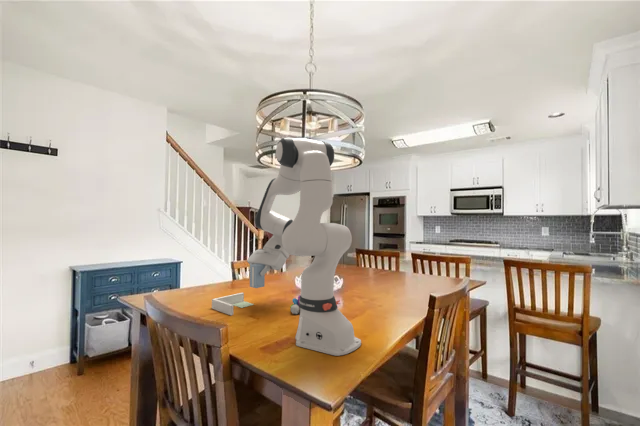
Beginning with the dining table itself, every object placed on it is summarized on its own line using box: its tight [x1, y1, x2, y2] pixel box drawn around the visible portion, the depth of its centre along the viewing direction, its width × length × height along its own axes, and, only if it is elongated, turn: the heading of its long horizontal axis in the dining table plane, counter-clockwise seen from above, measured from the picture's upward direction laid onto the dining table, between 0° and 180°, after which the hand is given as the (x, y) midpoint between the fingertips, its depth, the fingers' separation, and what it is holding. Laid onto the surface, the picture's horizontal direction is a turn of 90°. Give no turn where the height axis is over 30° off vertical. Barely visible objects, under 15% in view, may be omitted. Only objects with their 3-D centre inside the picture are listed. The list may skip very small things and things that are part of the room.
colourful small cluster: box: [289, 294, 301, 315], centre depth 136 cm, size 8×10×7 cm
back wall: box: [211, 292, 245, 310], centre depth 145 cm, size 1×16×4 cm, turn 140°
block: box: [249, 264, 266, 289], centre depth 139 cm, size 4×5×10 cm
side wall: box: [213, 298, 235, 316], centre depth 135 cm, size 13×1×4 cm, turn 50°
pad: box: [232, 300, 255, 309], centre depth 145 cm, size 7×7×1 cm
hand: (256, 274), depth 138 cm, fingers closed on block, 4 cm apart
